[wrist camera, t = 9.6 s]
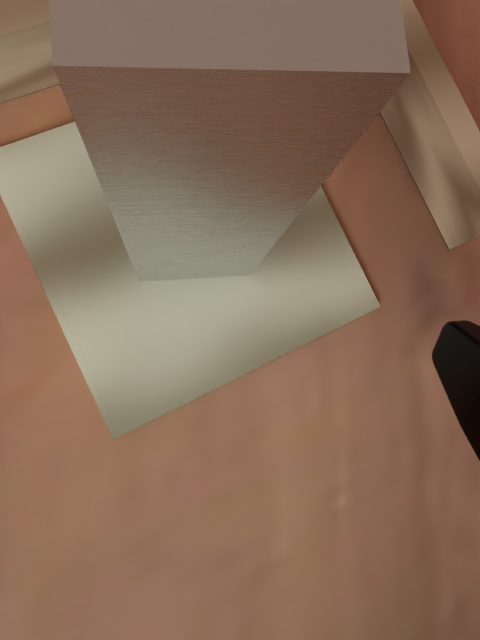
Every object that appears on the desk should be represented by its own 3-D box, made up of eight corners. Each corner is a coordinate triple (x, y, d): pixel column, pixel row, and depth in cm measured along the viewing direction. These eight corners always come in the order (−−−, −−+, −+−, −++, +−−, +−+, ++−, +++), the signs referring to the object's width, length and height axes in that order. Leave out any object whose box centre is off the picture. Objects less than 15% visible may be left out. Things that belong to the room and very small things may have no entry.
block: (249, 275, 17) (410, 73, 6) (139, 281, 17) (52, 65, 5) (233, 102, 18) (343, -400, 6) (126, 101, 17) (25, -467, 6)
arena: (479, 256, 19) (534, 236, 16) (-19, 504, 15) (-65, 537, 12) (333, -31, 20) (360, -101, 17) (-185, 129, 16) (-268, 74, 13)
